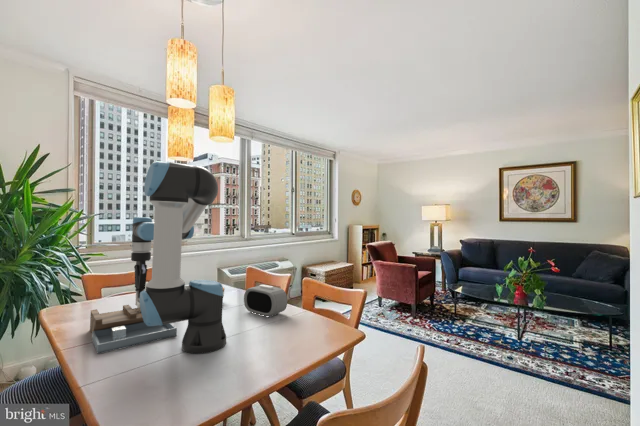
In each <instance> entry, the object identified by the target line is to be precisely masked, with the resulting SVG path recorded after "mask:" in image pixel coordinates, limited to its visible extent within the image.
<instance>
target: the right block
mask: <svg viewBox="0 0 640 426" xmlns="http://www.w3.org/2000/svg"><path fill="white" fill-rule="evenodd" d="M136 308H137V311H138V312H139V313H141V309H140V301H137V306H136Z"/></svg>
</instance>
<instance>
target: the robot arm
mask: <svg viewBox="0 0 640 426" xmlns="http://www.w3.org/2000/svg"><path fill="white" fill-rule="evenodd" d="M143 191H144V195H145V196H147V197H149V202H150V204H151V205H153V207H154V219H153V220H152V218H151V217H145V216H144V217H143V216H142V217H140V216H136V217H133V219H132V223H131V226H132V227H131V229H132V232H131V235H132V236H131V238H132V239H131V244H130V247H131V251H132V252H131V255H130V259H131V261H132V262H136V263H135V264H134V268H133V269H134V288H135V306H136V307H137V301H140V309H141V314H142V318H143V321H144V323H145V324H146V325H147V326H158V325H160V326H162V325H164V324H169V323H172V324H173V323H179V322H184V321H187V326H186V330H185V332H184V335H183V338H182V341H181V350H182V351H184V352H186V353H189V354H197V355H198V354H199V355H200V354H206V353H211V352H212V353H213V352H215V351H218V350H221V349H222V348H224V347H225V345H226V344H227V334H226V330H225V328H224V324H223V304H224V303H223V300H224V296H223V288H224V285H222V283H221V282H218V281H215V280H210V279H209V280H208V279H194V280H193V279H192V280H190V281H189V283H188V285H186V284H185V281H184V280H183V279H182V278H181V264H182V263H181V262H182V242H183V240H189V239H192V238H193V237H194V233H195V227H194V225H195V224H196V223H197V221H198V219H199V218H200V217H201V215H202V214H203V212H204V211H205V209H206V208H207V206H210V205H211V204H213V202H214V201H215V200H216V198H217V196H218V193H219V184H218V182H217V179H216V177H215V175H214V174H213V173H212V172H211V171H210V170H209V169H207V168H206V167H203V166H200V165H191V164H185V163H178V162H172V161H153V162H152V163H151V164H150V165H149V167H148V169H147V172H146V176H145V180H144V190H143ZM152 241H153V244H152ZM151 251H152V253H151ZM151 258H152V259H151ZM150 260H152V264H151V279H150V280H149V281H148V282H147V276H148V275H147V274H148V268H147V267H148V265H147V264H146V262H147V261H150ZM146 282H147V283H146Z"/></svg>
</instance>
